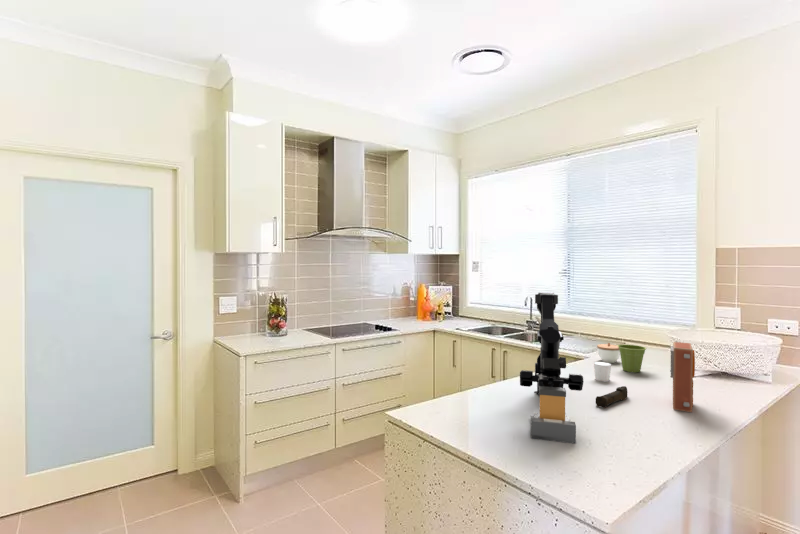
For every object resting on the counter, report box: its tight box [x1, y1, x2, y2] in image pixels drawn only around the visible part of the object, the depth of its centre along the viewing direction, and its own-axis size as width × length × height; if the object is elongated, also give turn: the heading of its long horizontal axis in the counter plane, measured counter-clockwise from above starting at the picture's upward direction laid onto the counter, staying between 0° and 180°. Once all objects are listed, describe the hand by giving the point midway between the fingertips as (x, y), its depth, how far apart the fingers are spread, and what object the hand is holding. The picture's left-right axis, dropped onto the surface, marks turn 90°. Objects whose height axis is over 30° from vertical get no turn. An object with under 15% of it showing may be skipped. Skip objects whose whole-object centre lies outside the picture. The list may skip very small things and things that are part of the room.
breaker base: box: [530, 412, 577, 444], centre depth 129 cm, size 16×12×5 cm
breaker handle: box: [538, 386, 567, 421], centre depth 126 cm, size 3×7×12 cm, turn 74°
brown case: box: [669, 341, 696, 413], centre depth 150 cm, size 21×7×15 cm
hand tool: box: [595, 385, 628, 409], centre depth 154 cm, size 19×4×5 cm, turn 124°
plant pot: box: [617, 344, 647, 373], centre depth 198 cm, size 12×12×11 cm
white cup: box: [593, 361, 612, 382], centre depth 184 cm, size 7×7×7 cm
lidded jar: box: [596, 342, 621, 364], centre depth 217 cm, size 11×11×9 cm
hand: (551, 405), depth 129 cm, fingers closed
